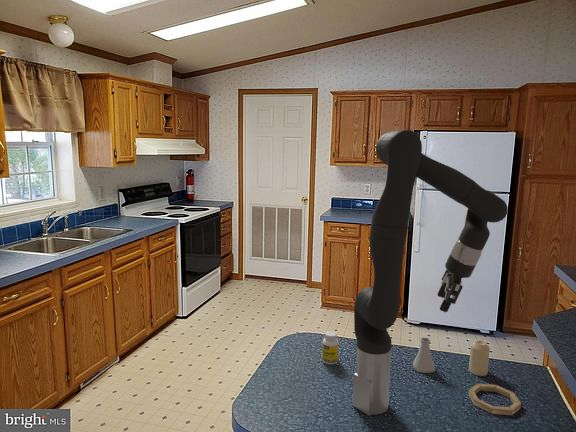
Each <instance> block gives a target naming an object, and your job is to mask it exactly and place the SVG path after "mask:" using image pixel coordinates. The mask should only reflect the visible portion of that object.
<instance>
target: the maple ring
mask: <svg viewBox="0 0 576 432" xmlns="http://www.w3.org/2000/svg"><path fill="white" fill-rule="evenodd" d="M481 391H483V392H494V393H498V394H499V395H502V396H504V397H506V398H508V399H510V401H511V403H512V404H511V405H510V406H497V405H495V406H494V405H491V404H490V403H487V402H485V401H483V400H481V399H480V398H478V396H477V394H478V393H479V392H481ZM468 396H469V398H470V400H471V401H472V403H473V405H474V406H476V407H477V408H480V409H482V410H483V411H486V412H487V413H490V414H492V415H506V416H513V415H515V413H516V412H518V411H519V410H520V409H521V408H522V402H521V401H520V399H519V398H518V396H517V395H516V394H515V392H513V391H511V390H509V389H507V388H504V387H502V386H500V385H498V384H491V383H490V384H488V383H476V384H475V385H473V386H472V387H471V388H469V389H468Z"/></svg>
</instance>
